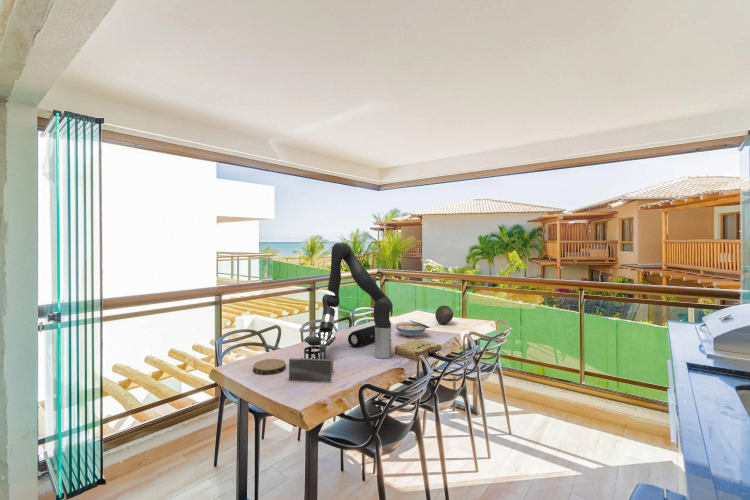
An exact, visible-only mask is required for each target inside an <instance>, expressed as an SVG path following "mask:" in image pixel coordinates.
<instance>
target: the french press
mask: <svg viewBox="0 0 750 500" xmlns="http://www.w3.org/2000/svg"><path fill="white" fill-rule="evenodd" d="M308 328H309V330H311V331H312V336H310V337H306V338H304V339H303V341H304V342H305V343H307V345H309V346H307V347H304V349H303V350H304V351H303V352H304V354H303V359H322V360H326V351H327V350H326V349H325V348H324V347H322V348H321V347H320V344H321V341H322V338H320V337H319V336H318V337H314V335H315V334H314V333H315V330H318V326H310V327H308ZM322 349H324V352H322ZM319 354H320V355H319ZM307 355H308V356H307Z"/></svg>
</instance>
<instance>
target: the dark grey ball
mask: <svg viewBox="0 0 750 500" xmlns="http://www.w3.org/2000/svg"><path fill="white" fill-rule="evenodd" d="M453 317H454V311H453V309H452V308H451V307H450V306H448V305H440V306H439V307H438V308H437V309H436V311H435V317H434V318H435V320H436V321H437V323H438V324H440V325H446V324H448V323H450V322H451V321H452V320H453Z"/></svg>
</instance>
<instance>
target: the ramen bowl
mask: <svg viewBox="0 0 750 500" xmlns="http://www.w3.org/2000/svg"><path fill="white" fill-rule="evenodd" d="M394 326H395V328H396V330H397V332H399V333H400V334H402V335H403V336H406V337H409V338H413V337H417V336H419V335H421V334H423V333H424V332H425V331H426V329H430V328H431V326H428V325H427V324H426V323H422V322H418V321H413V320H410V319H409V321H399V322H396V323H395V324H394Z"/></svg>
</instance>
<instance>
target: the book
mask: <svg viewBox="0 0 750 500" xmlns="http://www.w3.org/2000/svg"><path fill="white" fill-rule="evenodd" d="M441 350H443V347H442V345H441V344H438V343H434V342H431V341H428V340H424V339H421V338H419V339H416V340H408V342H405V343H403V344H400V345H397V344H396V345H395V346H394V353H393V355H394V356H399V357H401V358H404V359H407V360H409V361H414V362H417V361H418V362H419V360H418V357H419V356H420V355H425V357H426V358H429V357H430V354H429V353H431V354H433V353H435V352H439V351H441ZM426 358H425V359H426Z"/></svg>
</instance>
